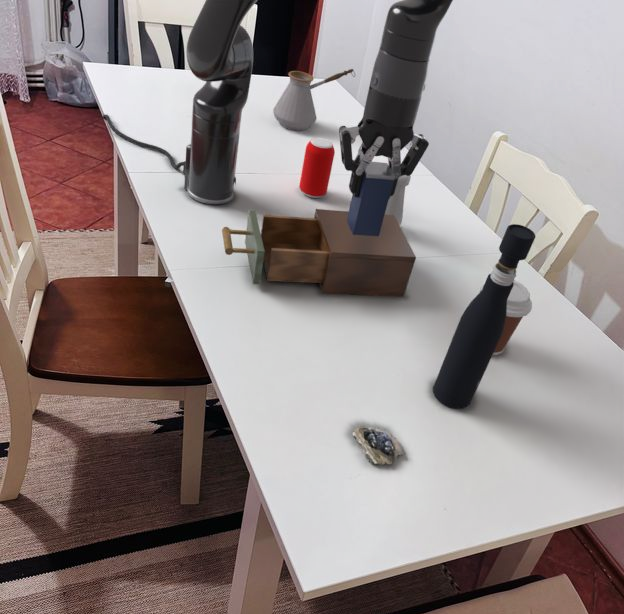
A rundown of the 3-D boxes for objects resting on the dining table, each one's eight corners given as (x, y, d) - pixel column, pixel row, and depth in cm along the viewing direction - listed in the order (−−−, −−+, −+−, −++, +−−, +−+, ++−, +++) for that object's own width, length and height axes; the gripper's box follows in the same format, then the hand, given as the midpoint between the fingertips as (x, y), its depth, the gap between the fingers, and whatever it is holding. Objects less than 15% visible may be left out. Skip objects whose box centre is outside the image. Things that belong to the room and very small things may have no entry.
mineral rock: (380, 475, 89) (384, 466, 88) (338, 439, 92) (341, 430, 91) (410, 451, 93) (414, 442, 92) (369, 418, 97) (372, 409, 95)
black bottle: (429, 378, 106) (492, 215, 87) (466, 382, 107) (537, 222, 89) (436, 407, 101) (504, 240, 83) (475, 411, 103) (551, 248, 84)
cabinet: (321, 293, 118) (331, 252, 113) (307, 248, 129) (315, 208, 123) (403, 296, 123) (416, 257, 117) (383, 252, 134) (394, 214, 128)
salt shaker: (396, 237, 140) (413, 181, 131) (371, 229, 140) (385, 173, 132) (400, 225, 144) (417, 170, 136) (375, 217, 144) (390, 162, 136)
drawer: (224, 283, 113) (228, 249, 108) (218, 240, 123) (221, 207, 118) (333, 287, 119) (341, 255, 114) (319, 246, 128) (326, 215, 124)
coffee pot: (282, 134, 168) (291, 74, 159) (264, 115, 175) (272, 57, 166) (353, 133, 178) (366, 77, 169) (334, 115, 185) (344, 61, 176)
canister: (346, 220, 107) (359, 160, 101) (372, 222, 108) (387, 162, 102) (352, 235, 104) (367, 173, 97) (379, 236, 105) (395, 176, 99)
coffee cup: (459, 323, 120) (480, 268, 113) (506, 332, 121) (531, 279, 113) (463, 355, 113) (487, 299, 106) (514, 364, 114) (541, 310, 106)
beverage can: (320, 203, 144) (330, 151, 137) (294, 193, 145) (302, 141, 137) (329, 192, 149) (340, 142, 141) (304, 183, 150) (313, 133, 142)
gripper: (434, 82, 97) (405, 188, 108) (342, 70, 93) (321, 181, 103) (452, 102, 92) (419, 211, 102) (354, 89, 87) (330, 204, 98)
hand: (370, 195), depth 103 cm, fingers closed on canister, 4 cm apart
